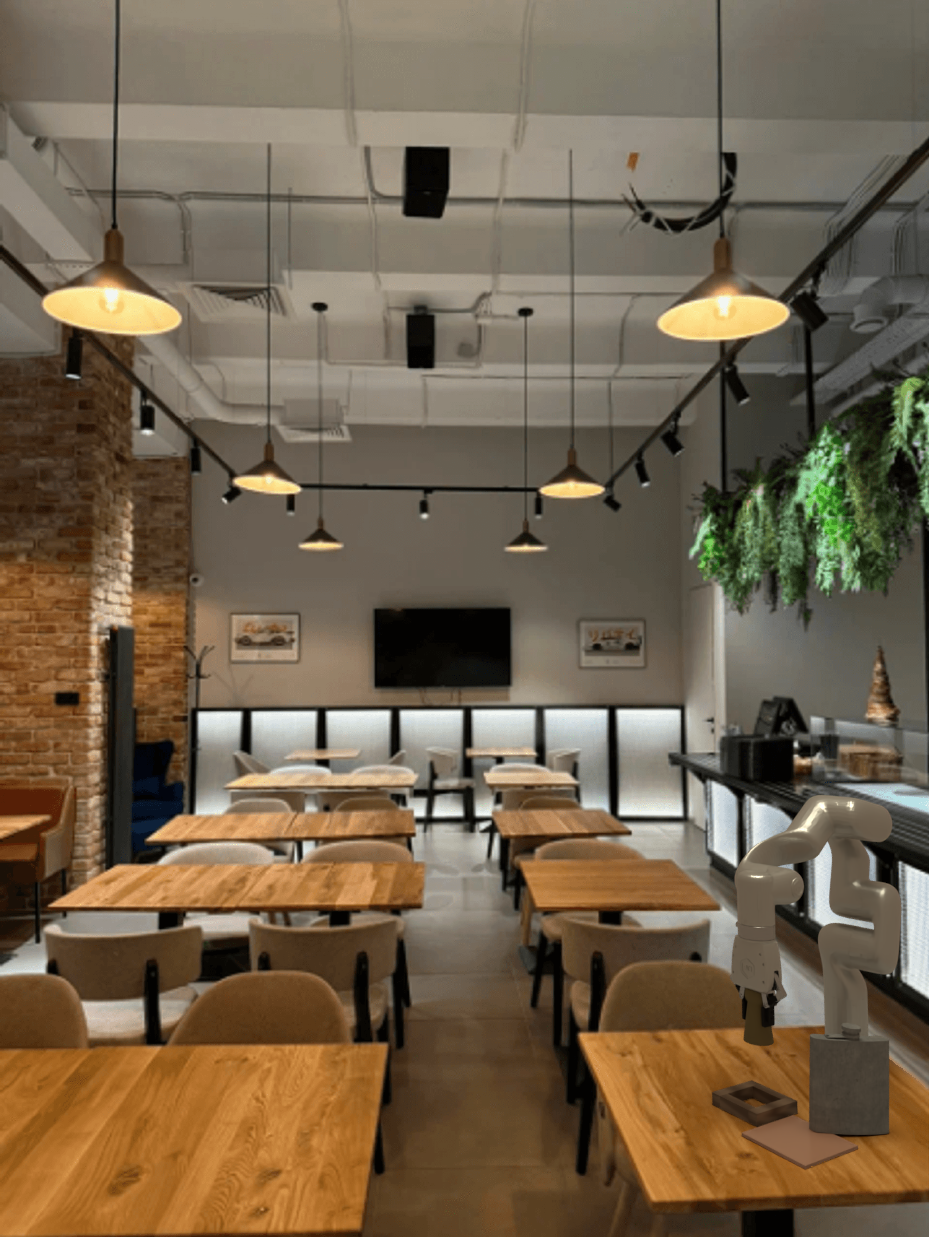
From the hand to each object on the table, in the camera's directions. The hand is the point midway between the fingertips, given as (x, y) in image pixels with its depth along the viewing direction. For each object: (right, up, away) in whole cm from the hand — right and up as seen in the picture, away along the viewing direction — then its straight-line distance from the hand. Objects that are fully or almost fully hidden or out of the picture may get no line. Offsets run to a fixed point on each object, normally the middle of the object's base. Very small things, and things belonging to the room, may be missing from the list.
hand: (758, 1021), depth 194 cm
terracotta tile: (+3, -17, -14) cm, 22 cm away
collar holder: (-1, -18, 0) cm, 18 cm away
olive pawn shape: (0, -4, 0) cm, 4 cm away
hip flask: (+15, -17, -10) cm, 25 cm away
